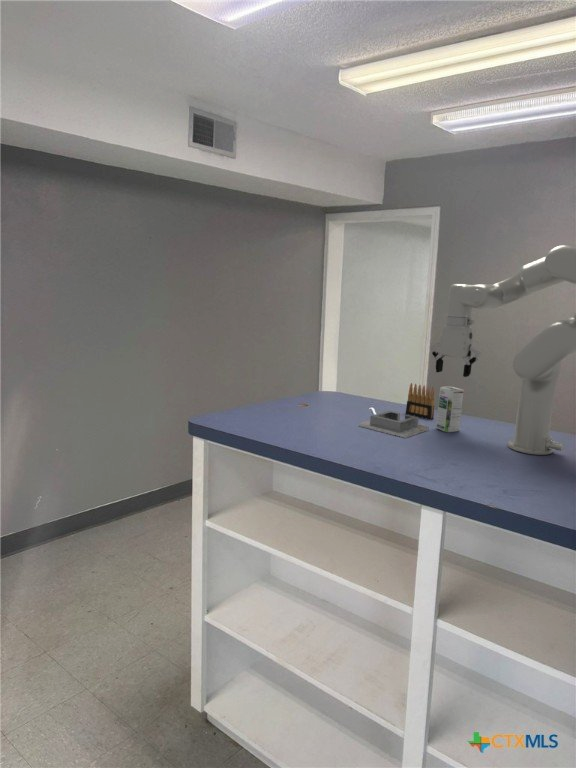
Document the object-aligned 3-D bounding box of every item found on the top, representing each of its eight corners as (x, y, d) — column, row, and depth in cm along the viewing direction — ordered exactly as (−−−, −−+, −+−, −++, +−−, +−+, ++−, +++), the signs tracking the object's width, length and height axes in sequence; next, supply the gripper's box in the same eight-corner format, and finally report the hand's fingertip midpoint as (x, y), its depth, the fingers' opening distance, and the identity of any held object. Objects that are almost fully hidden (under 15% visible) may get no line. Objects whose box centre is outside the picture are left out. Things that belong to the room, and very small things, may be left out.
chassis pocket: (428, 429, 179) (429, 418, 178) (405, 438, 168) (406, 425, 167) (383, 419, 191) (384, 408, 190) (358, 426, 180) (359, 414, 179)
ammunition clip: (433, 419, 194) (436, 386, 192) (430, 419, 193) (433, 387, 191) (408, 413, 202) (410, 382, 199) (405, 414, 200) (408, 382, 198)
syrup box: (435, 428, 181) (439, 386, 179) (448, 427, 184) (452, 385, 181) (446, 432, 176) (450, 389, 174) (460, 431, 179) (464, 389, 176)
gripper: (488, 324, 170) (482, 377, 174) (439, 319, 182) (434, 369, 185) (478, 325, 165) (472, 379, 168) (428, 320, 176) (423, 371, 180)
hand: (452, 374), depth 177 cm, fingers open, 9 cm apart
